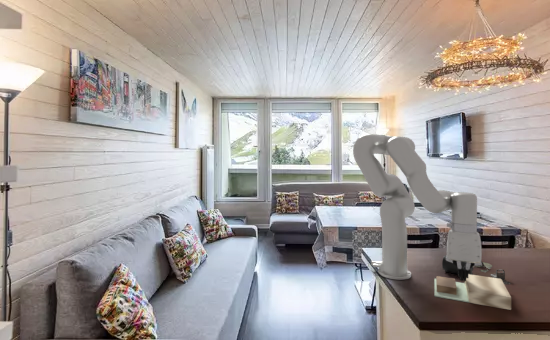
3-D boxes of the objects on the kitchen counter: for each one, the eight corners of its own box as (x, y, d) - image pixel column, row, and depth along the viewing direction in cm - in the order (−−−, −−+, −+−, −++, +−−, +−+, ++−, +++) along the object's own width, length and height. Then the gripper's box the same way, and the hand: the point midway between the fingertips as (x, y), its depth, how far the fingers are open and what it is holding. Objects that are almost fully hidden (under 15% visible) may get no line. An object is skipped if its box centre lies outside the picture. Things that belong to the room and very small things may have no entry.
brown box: (456, 288, 102) (456, 295, 102) (454, 278, 110) (454, 285, 110) (436, 284, 105) (436, 291, 105) (436, 276, 113) (436, 282, 113)
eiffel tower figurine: (486, 274, 122) (487, 241, 122) (458, 267, 130) (459, 237, 129) (495, 265, 133) (495, 235, 132) (468, 259, 140) (469, 231, 140)
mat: (434, 296, 102) (434, 295, 102) (434, 279, 116) (434, 278, 116) (470, 302, 97) (470, 301, 97) (466, 284, 111) (466, 283, 111)
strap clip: (489, 276, 120) (489, 265, 120) (498, 276, 119) (498, 265, 119) (502, 284, 111) (502, 273, 111) (511, 285, 111) (511, 273, 111)
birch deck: (468, 302, 98) (469, 290, 97) (464, 284, 112) (464, 273, 112) (511, 310, 92) (511, 297, 92) (501, 289, 106) (501, 278, 106)
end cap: (441, 273, 123) (442, 257, 123) (446, 268, 128) (447, 253, 128) (470, 279, 116) (470, 262, 116) (474, 274, 121) (474, 258, 121)
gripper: (439, 228, 105) (439, 279, 105) (491, 232, 98) (490, 287, 98) (439, 223, 111) (438, 272, 112) (488, 227, 104) (487, 279, 105)
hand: (463, 279), depth 105 cm, fingers closed
